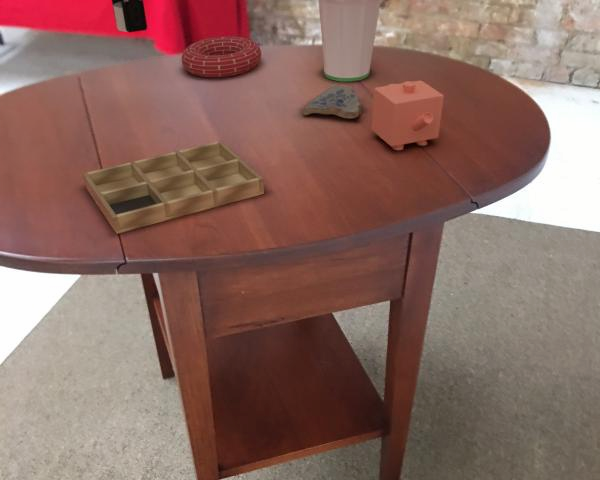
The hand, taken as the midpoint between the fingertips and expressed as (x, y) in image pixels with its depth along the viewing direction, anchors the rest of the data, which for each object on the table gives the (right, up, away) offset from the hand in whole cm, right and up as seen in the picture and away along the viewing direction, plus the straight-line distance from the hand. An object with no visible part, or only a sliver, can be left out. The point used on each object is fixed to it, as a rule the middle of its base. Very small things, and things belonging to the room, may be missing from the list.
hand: (131, 25), depth 98 cm
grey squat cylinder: (0, 0, 0) cm, 0 cm away
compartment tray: (+9, -30, -12) cm, 33 cm away
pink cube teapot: (+42, -19, -2) cm, 46 cm away
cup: (+35, +2, +19) cm, 40 cm away
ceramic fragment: (+33, -10, +7) cm, 35 cm away
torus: (+11, +6, +23) cm, 27 cm away
